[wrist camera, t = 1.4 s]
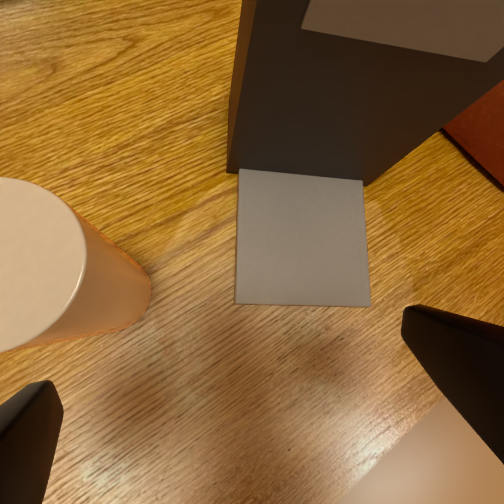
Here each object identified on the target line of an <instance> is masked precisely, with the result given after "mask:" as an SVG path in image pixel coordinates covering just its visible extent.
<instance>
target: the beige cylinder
mask: <svg viewBox="0 0 504 504" xmlns="http://www.w3.org/2000/svg"><path fill="white" fill-rule="evenodd" d="M150 299H151V282H150V279H149V277H148V274H147V273H146V271H145V270H144V268H143V267H142V266H141V265H140V264H139V263H137V262H136V261H135V260H134V259H133V258H131V257H130V256H129V255H128V254H127V253H125V252H124V251H123V250H122V249H121V248H119V247H118V246H117V245H116V244H115V243H113V242H112V241H111V240H110V239H109V238H107V237H106V236H105V235H104V234H103V233H102V232H100V231H99V230H98V229H97V228H96V227H94V226H93V225H92V224H91V223H90V222H88V221H87V220H86V219H85V218H84V217H82V216H81V215H80V214H79V213H78V212H76V211H75V210H74V209H73V208H72V207H70V206H69V205H68V204H67V203H66V202H64V201H63V200H62V199H61V198H59V197H58V196H57V195H55V194H54V193H53V192H51V191H49V190H47V189H45V188H44V187H42V186H39V185H37V184H34V183H31V182H28V181H24V180H20V179H14V178H6V177H0V353H5V352H11V351H16V350H21V349H26V348H32V347H37V346H42V345H48V344H53V343H58V342H63V341H69V340H74V339H79V338H85V337H90V336H95V335H100V334H106V333H111V332H116V331H120V330H123V329H125V328H128V327H129V326H131V325H133V324H134V323H135V322H137V321H138V320H139V319H140V318H141V317H142V315H143V314H144V313H145V311H146V309H147V307H148V305H149V302H150Z"/></svg>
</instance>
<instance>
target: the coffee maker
mask: <svg viewBox="0 0 504 504" xmlns="http://www.w3.org/2000/svg"><path fill="white" fill-rule="evenodd" d="M503 80H504V0H242V7H241V14H240V22H239V29H238V37H237V44H236V52H235V60H234V67H233V75H232V82H231V90H230V98H229V114H228V139H227V165H226V173H236V174H238V187H237V220H236V254H235V287H234V304H246V305H288V306H329V307H371V297H370V282H369V268H368V253H367V239H366V224H365V210H364V195H363V186H368V185H369V184H370V183H372V182H373V181H374V180H375V179H377V178H378V177H379V176H381V175H382V174H383V173H384V172H386V171H387V170H388V169H390V168H391V167H392V166H393V165H395V164H396V163H397V162H399V161H400V160H401V159H402V158H404V157H405V156H406V155H408V154H409V153H410V152H411V151H413V150H414V149H415V148H417V147H418V146H419V145H420V144H422V143H423V142H424V141H426V140H427V139H428V138H429V137H431V136H432V135H433V134H434V133H436V132H437V131H438V130H440V129H441V128H442V127H443V126H445V125H446V124H447V123H449V122H450V121H451V120H452V119H454V118H455V117H456V116H458V115H459V114H460V113H461V112H463V111H464V110H465V109H467V108H468V107H469V106H470V105H472V104H473V103H474V102H476V101H477V100H478V99H479V98H481V97H482V96H483V95H485V94H486V93H487V92H488V91H490V90H491V89H492V88H494V87H495V86H496V85H497V84H499V83H500V82H501V81H503Z"/></svg>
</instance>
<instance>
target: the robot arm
mask: <svg viewBox="0 0 504 504" xmlns="http://www.w3.org/2000/svg"><path fill="white" fill-rule="evenodd" d="M401 335H402V338H403V340H404V342H405V343H406V345H407V346H408V347H409V349H410V350H411V351H412V353H413V354H414V356H415V357H416V358H417V360H418V361H419V362H420V364H421V365H422V367H423V368H424V369H425V371H426V372H427V374H428V375H429V376H430V378H431V379H432V380H433V382H434V383H435V384H436V386H437V387H438V388H439V390H440V391H441V392H442V393H443V394H444V396H445V397H446V398H447V399H448V400H449V401H450V403H451V404H452V405H453V406H454V407H455V408H456V409H457V410H458V412H459V413H460V414H461V415H462V417H463V418H464V419H465V420H466V421H467V422H468V423H469V425H470V426H471V427H472V428H473V429H474V430H475V432H476V433H477V434H478V435H479V436H480V437H481V439H482V440H483V441H484V442H485V443H486V444H487V446H488V447H489V448H490V449H491V450H492V451H493V452H494V454H495V455H496V456H497V457H498V458H499V459H500V461H501V462H502V463H503V464H504V327H502V326H499V325H495V324H491V323H488V322H484V321H480V320H477V319H473V318H469V317H465V316H462V315H458V314H454V313H451V312H447V311H443V310H440V309H436V308H432V307H429V306H425V305H421V304H417V305H412V306H408V307H406V308H405V309H404V311H403V318H402V326H401ZM63 414H64V411H63V406H62V403H61V400H60V398H59V395H58V393H57V390H56V388H55V386H54V384H53V382H52V381H50V380H44V381H39V382H35V383H30V384H28V385H27V386H25V387H24V388H23V389H21V390H20V391H19V392H17V393H16V394H15V395H13V396H12V397H11V398H10V399H8V400H7V401H6V402H4V403H3V404H2V405H0V504H42V501H43V498H44V495H45V492H46V488H47V484H48V480H49V476H50V472H51V467H52V463H53V459H54V455H55V450H56V446H57V442H58V438H59V433H60V429H61V425H62V421H63Z"/></svg>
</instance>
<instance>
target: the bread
mask: <svg viewBox="0 0 504 504" xmlns="http://www.w3.org/2000/svg"><path fill="white" fill-rule="evenodd" d="M443 128H444V129H445V130H446V131H447V132H448V133H449V134H450V135H451V136H452V137H453V138H454V139H455V140H456V141H457V142H458V143H459V144H460V145H461V146H462V147H463V148H464V149H465V150H466V151H467V152H468V153H469V154H470V155H471V156H472V157H473V158H474V159H475V160H476V161H477V162H479V163H480V164H481V165H482V166H483V167H484V168H485V169H486V170H487V171H488V172H489V173H490V174H491V175H492V176H493V177H494V178H496V179H497V180H498V181H499V182H500V183H501V184H502V185H503V186H504V80H503V81H501V82H500V83H499V84H497V85H496V86H495V87H494V88H492V89H491V90H490V91H488V92H487V93H486V94H485V95H483V96H482V97H481V98H479V99H478V100H477V101H476V102H474V103H473V104H472V105H470V106H469V107H468V108H467V109H465V110H464V111H463V112H461V113H460V114H459V115H458V116H456V117H455V118H454V119H452V120H451V121H450V122H449V123H447V124H446V125H445V126H443Z"/></svg>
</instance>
